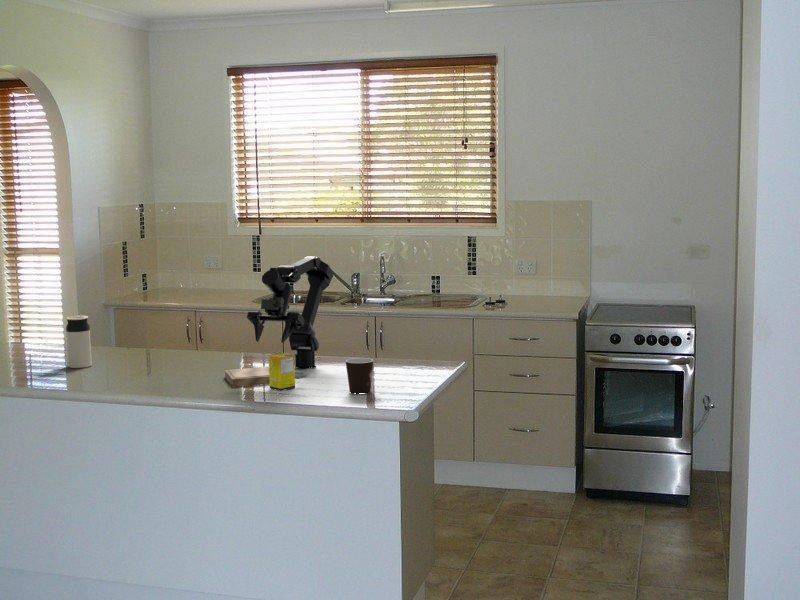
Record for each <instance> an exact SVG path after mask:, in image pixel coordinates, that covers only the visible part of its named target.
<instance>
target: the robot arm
mask: <svg viewBox="0 0 800 600" xmlns="http://www.w3.org/2000/svg"><path fill="white" fill-rule="evenodd" d="M302 275H306V276H307V281H308V283H309V289H308V291H307V295H306V299H305V303H304V306H303V309H302V313H300V312H299V311H288V312H287V310H290V304H289V303H290V300H291V295H292V294H293V295H294V294H295V290H294V289H293V286H292V285H290V284H296V283H298V281H299V280H300V279H302V278H301V276H302ZM333 277H334V272H333V270H332V268H331V266H330V265H329V264H328V263H326V262H324V261H323V260H321V258H320V256H317V255H316V256H314V255H313V256H310V255H307V256H305V257H304V258H302V259H299V260H298V261H296V262H294V263H292V264H283V265H282V264H281V265H279V266H277V267H275V266H274V267H273V266H271V267H270V268H269V270H267V271H265V273H263V274H262V276H261V282H262V284H264V286H266V287H265V288H267V289H268V290H269V291H270V292H271V293H272V296H271V297H269V299H268V298H266V299H265V298H262V299H261V301H260V302H261V303H260V309H261V310H264V312H265V313H266V314H262V312H261V311H260V310H248V311H247V313H246V319H247V320H248V321H249V322H250V323H251V324H252V325H253V328H254V335H255V336H254V337H255V338H254V339H255V341H256V343H259V342H260V338H261V337H262V333H263V331H264V328H265V325H264V324H265V322H284V329H283V332H282V336H281V340H280V341H281V343H282V344H284V343H285V342H286V341H287V339H288V341H289V347H290V351H294V353H293V354H294V368H296V369H297V370H303V369H304V370H305V369H316V368H317V365H316V361H315V360H316V355H315V352H317V351H318V350H319V347H320V343H319V341H318V339H317V338H316V332H315V329H314V323H315V320H316V316H317V314H318V309H319V305H320V303H321V299H322V295H323V291H324V290H325V291H326V289H327V288H328V287H329V286H330V284H331V282H332V280H333Z"/></svg>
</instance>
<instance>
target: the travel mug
mask: <svg viewBox="0 0 800 600" xmlns="http://www.w3.org/2000/svg"><path fill="white" fill-rule="evenodd" d="M65 319H66V321H67V324H66V327H65V330H66V346H67V347H66V348H67V361H68V367H69V368H70V369H85V368H89V367H91V366H92V364H93V362H92V346H91V332H90V330H91V329H90V324H89V323H88V319H89V316H88V315H72V316H67V317H66V318H65Z"/></svg>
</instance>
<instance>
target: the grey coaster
mask: <svg viewBox="0 0 800 600" xmlns="http://www.w3.org/2000/svg"><path fill="white" fill-rule="evenodd" d="M303 376H304V377H305V373H304V372H301V371H295V378H297V379H301V378H300V377H302V378H304V377H303Z"/></svg>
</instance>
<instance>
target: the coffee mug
mask: <svg viewBox="0 0 800 600" xmlns="http://www.w3.org/2000/svg"><path fill="white" fill-rule="evenodd" d="M345 366H346V375H347V382H348V389H349V393H350V392H351V393H356V394H355V395H357V394H359V393H368V392H370V393H371V391H372V390H371V389H372V380H373V369H374V368H373V367H374V359H373V358H369V357H353V358H348V359H346V360H345ZM351 393H350V394H351ZM368 394H369V393H368Z"/></svg>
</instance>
